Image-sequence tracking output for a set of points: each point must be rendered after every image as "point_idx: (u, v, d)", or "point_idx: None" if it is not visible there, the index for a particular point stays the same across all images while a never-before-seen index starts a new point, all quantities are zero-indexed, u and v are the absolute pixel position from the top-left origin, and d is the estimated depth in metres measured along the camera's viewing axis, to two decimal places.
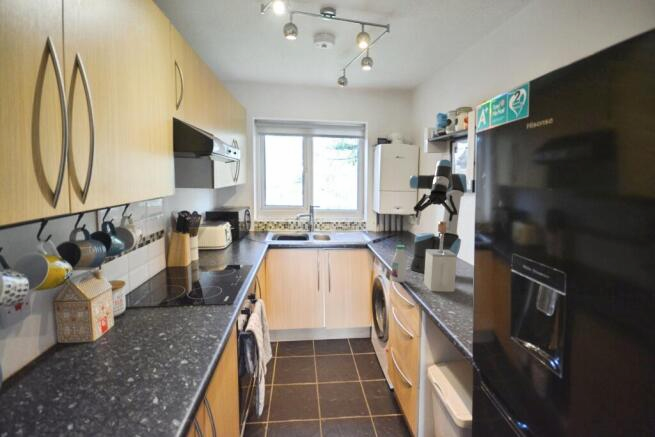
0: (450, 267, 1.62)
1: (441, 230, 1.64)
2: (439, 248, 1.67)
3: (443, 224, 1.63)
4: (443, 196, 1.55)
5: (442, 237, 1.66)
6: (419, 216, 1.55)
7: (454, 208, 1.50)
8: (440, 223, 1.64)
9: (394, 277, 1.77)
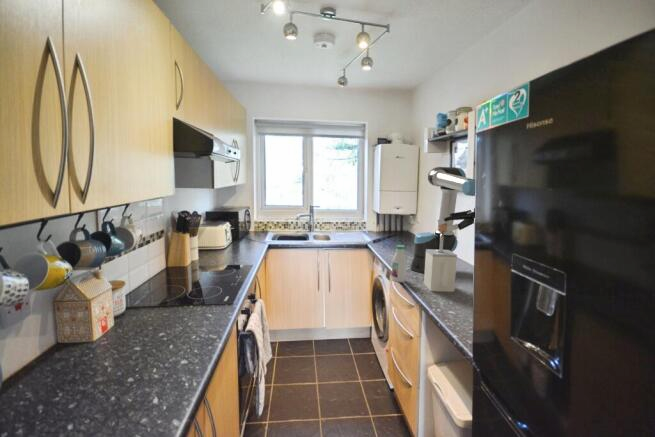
0: (450, 267, 1.62)
1: (441, 230, 1.64)
2: (439, 248, 1.67)
3: (443, 224, 1.63)
4: None
5: (442, 237, 1.66)
6: None
7: (464, 227, 1.71)
8: None
9: (394, 277, 1.77)
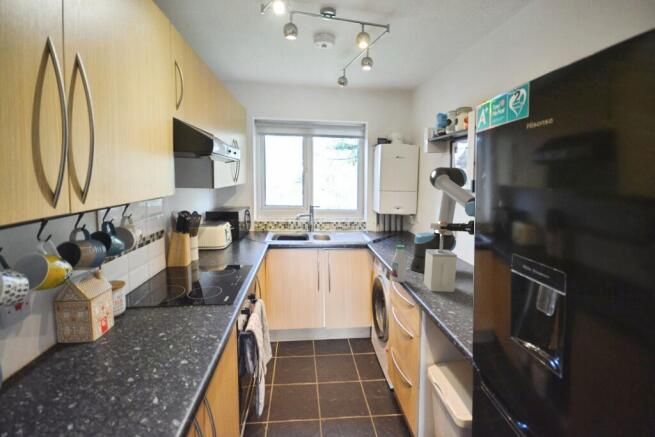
0: (450, 267, 1.62)
1: (441, 230, 1.64)
2: (439, 248, 1.67)
3: (443, 224, 1.63)
4: None
5: (442, 237, 1.66)
6: None
7: None
8: (440, 223, 1.64)
9: (394, 277, 1.77)
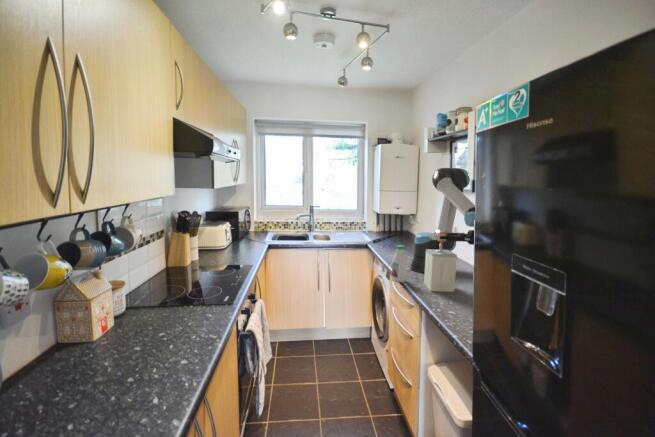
0: (450, 267, 1.62)
1: (440, 240, 1.65)
2: None
3: (442, 234, 1.64)
4: None
5: (441, 247, 1.66)
6: None
7: None
8: (439, 233, 1.65)
9: (394, 277, 1.77)
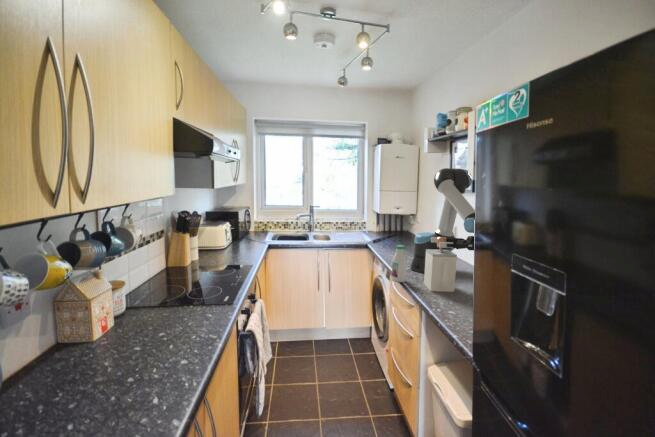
0: (450, 267, 1.62)
1: None
2: None
3: (442, 240, 1.64)
4: None
5: (441, 252, 1.67)
6: None
7: None
8: (439, 239, 1.65)
9: (394, 277, 1.77)
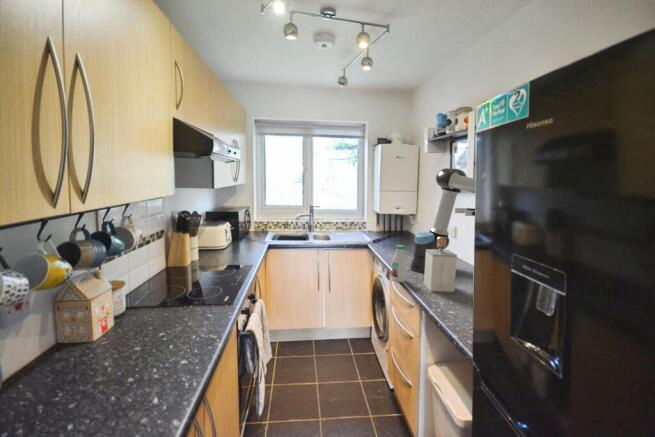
0: (450, 267, 1.62)
1: (440, 246, 1.65)
2: None
3: (442, 240, 1.64)
4: None
5: (441, 252, 1.67)
6: None
7: None
8: (439, 239, 1.65)
9: (394, 277, 1.77)
